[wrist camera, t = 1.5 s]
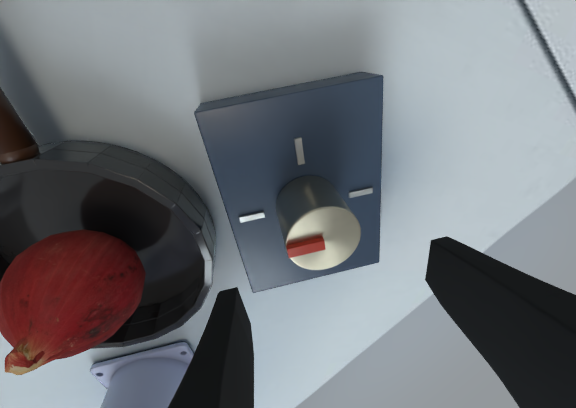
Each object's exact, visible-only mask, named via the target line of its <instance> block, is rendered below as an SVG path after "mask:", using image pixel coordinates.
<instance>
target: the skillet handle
mask: <svg viewBox="0 0 576 408" xmlns="http://www.w3.org/2000/svg"><path fill="white" fill-rule="evenodd" d="M38 153H39V147H38V145H37V143H36V141H35V140H34V138H33V137H32V135H31V134H30V132H29V130H28V129H27V127H26V126H25V124H24V123H23V121H22V120H21V118H20V117H19V115H18V114H17V112H16V111H15V109H14V108H13V106H12V105H11V103H10V101H9V100H8V98H7V97H6V95H5V94H4V92H3V91H2V89H1V88H0V163H1V164H5V163H11V162H15V161H19V160H22V159H25V158H28V157H31V156H34V155H36V154H38Z"/></svg>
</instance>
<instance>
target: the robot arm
mask: <svg viewBox="0 0 576 408" xmlns="http://www.w3.org/2000/svg"><path fill="white" fill-rule="evenodd" d="M425 280H426V282H427V283H428V285H429V287H430V288H431V290H432V292H433V293H434V295H435V296H436V298H437V299H438V301H439V302H440V304H441V305H442V307H443V308H444V309H445V310H446V312H447V313H448V314H449V315H450V317H451V318H452V319H453V320H454V322H455V323H456V324H457V325H458V327H459V328H460V329H461V330H462V332H463V333H464V334H465V335H466V337H467V338H468V339H469V340H470V341H471V343H472V344H473V345H474V346H475V348H476V349H477V350H478V351H479V352H480V354H481V355H482V356H483V357H484V359H485V360H486V361H487V362H488V363H489V365H490V366H491V367H492V369H493V370H494V371H495V373H496V374H497V375H498V377H499V378H500V380H501V381H502V382H503V384H504V385H505V387H506V388H507V390H508V391H509V393H510V394H511V396H512V397H513V398H514V400H515V401H516V403H517V404H518V406H519V407H520V408H576V295H574V294H572V293H569V292H567V291H565V290H562V289H560V288H558V287H555V286H553V285H550V284H548V283H545V282H543V281H541V280H539V279H537V278H534V277H532V276H530V275H528V274H525V273H523V272H521V271H519V270H517V269H515V268H512V267H510V266H508V265H506V264H504V263H502V262H500V261H498V260H495V259H493V258H491V257H489V256H487V255H485V254H483V253H481V252H479V251H477V250H475V249H473V248H471V247H469V246H467V245H465V244H462V243H460V242H458V241H456V240H454V239H451V238H449V237H443V238H438V239H434V240H431V245H430V252H429V258H428V265H427V272H426V279H425ZM90 372H91V373H92V374H93V375H94V376H95V377H96V378H97V379H98V380H99V381H100V382H101V383H102V384H103V385H104V386H105V387H106V388H107V389H108V390H107V392H106V395H105V398H104V400H103V403H102V405H101V408H254V351H253V341H252V332H251V323H250V321H249V318H248V315H247V312H246V310H245V307H244V304H243V302H242V299H241V296H240V294H239V291H238V288H237V287H236V288H232V289H228V290H223V291H220V292H219V293H218V295H217V298H216V301H215V304H214V307H213V309H212V312H211V315H210V317H209V320H208V322H207V325H206V327H205V330H204V332H203V335H202V337H201V339H200V342H199V344H198V346H197V349H196V351H195V353H194V354H193V352H192V351H191V349H190V347H189V346H188V344H187V343H185V342H179V343H176V344H172V345H168V346H164V347H160V348H156V349H152V350H148V351H144V352H140V353H136V354H132V355H128V356H124V357H120V358H116V359H112V360H108V361H104V362H100V363H96V364H93V365H92V366H91V369H90Z"/></svg>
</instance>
